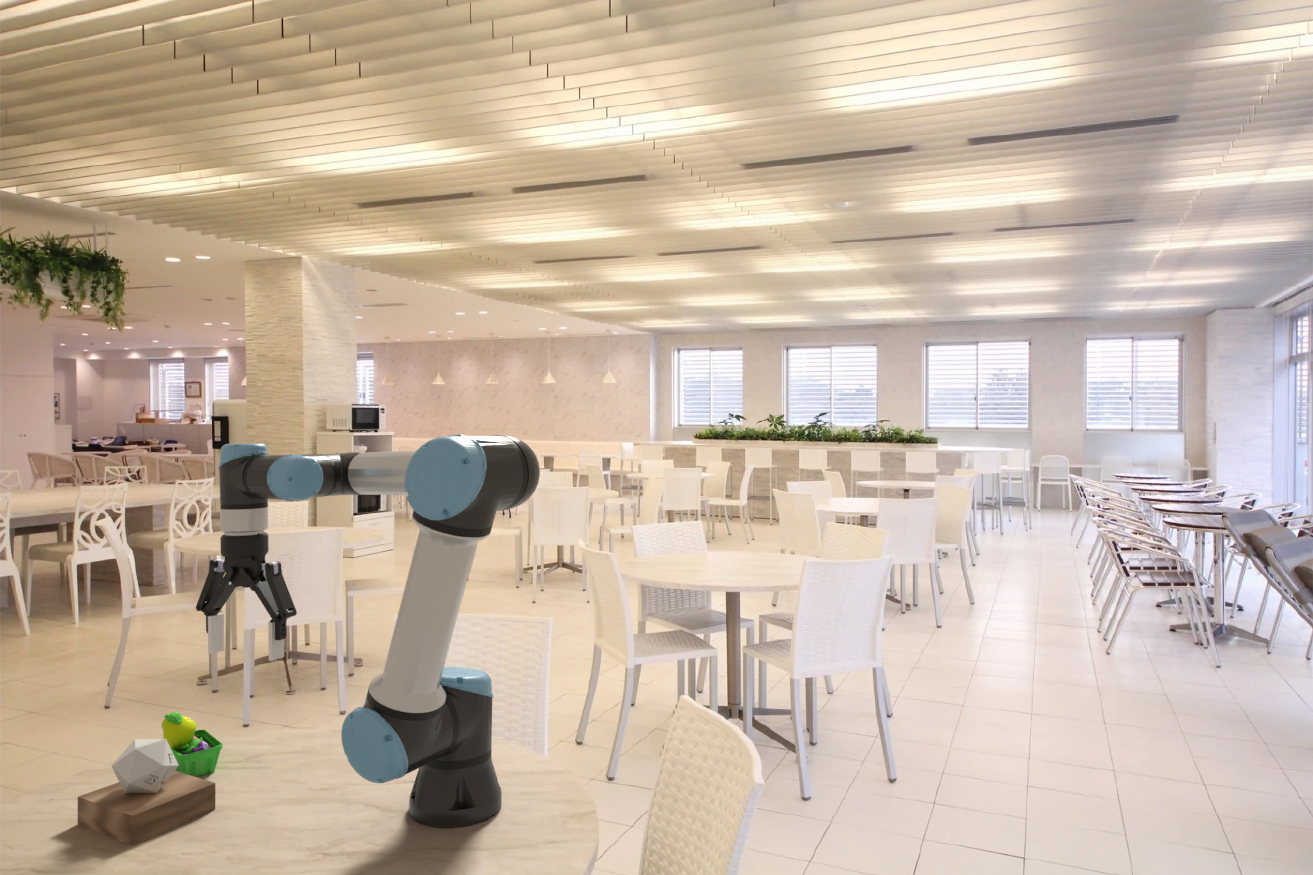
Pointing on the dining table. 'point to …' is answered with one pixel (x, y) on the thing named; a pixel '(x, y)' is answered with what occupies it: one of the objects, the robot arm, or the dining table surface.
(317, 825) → the dining table surface
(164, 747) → the die
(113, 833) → the walnut block
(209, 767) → the fruit basket
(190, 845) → the dining table surface
